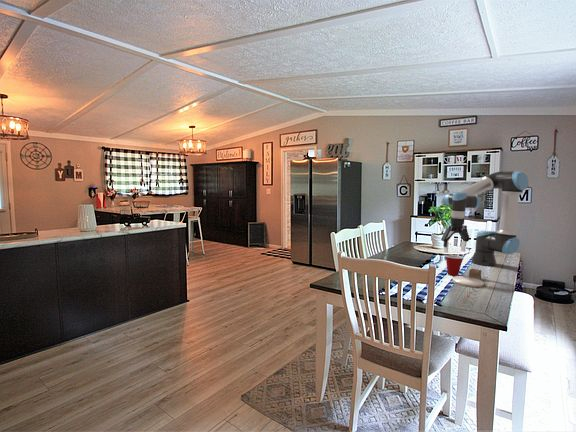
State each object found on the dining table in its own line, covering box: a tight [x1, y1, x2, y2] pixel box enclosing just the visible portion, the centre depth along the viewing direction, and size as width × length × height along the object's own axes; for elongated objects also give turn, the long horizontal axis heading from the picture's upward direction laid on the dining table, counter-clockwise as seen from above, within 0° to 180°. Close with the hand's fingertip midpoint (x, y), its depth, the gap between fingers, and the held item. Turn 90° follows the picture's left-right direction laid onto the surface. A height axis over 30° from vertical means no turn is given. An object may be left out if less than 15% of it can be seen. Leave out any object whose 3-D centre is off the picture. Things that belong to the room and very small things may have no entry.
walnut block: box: [468, 268, 482, 280], centre depth 206 cm, size 5×5×5 cm
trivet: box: [452, 275, 485, 288], centre depth 197 cm, size 16×16×2 cm
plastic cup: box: [444, 254, 465, 277], centre depth 212 cm, size 11×11×12 cm
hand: (454, 251), depth 211 cm, fingers open, 13 cm apart
